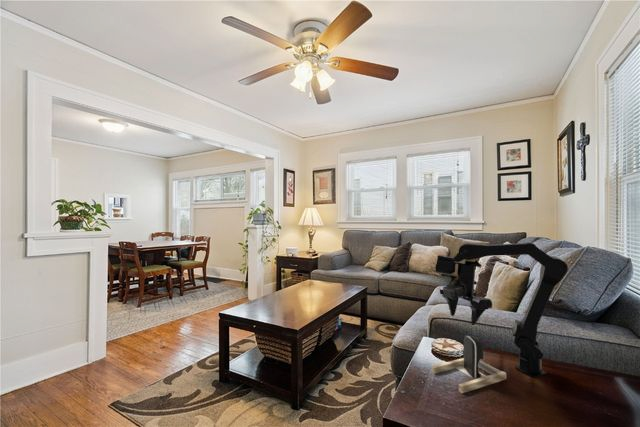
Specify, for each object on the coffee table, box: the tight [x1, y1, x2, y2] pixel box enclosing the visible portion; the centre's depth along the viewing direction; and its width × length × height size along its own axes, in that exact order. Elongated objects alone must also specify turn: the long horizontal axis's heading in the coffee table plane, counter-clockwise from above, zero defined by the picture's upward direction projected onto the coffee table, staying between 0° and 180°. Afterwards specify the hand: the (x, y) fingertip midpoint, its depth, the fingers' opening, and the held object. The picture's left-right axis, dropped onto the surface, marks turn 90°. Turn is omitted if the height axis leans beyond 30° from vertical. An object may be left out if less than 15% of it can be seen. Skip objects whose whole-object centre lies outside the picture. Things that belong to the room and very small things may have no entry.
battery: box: [463, 335, 484, 379], centre depth 97 cm, size 7×4×11 cm, turn 177°
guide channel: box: [430, 357, 507, 394], centre depth 96 cm, size 19×12×2 cm, turn 112°
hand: (462, 320), depth 108 cm, fingers open, 9 cm apart
